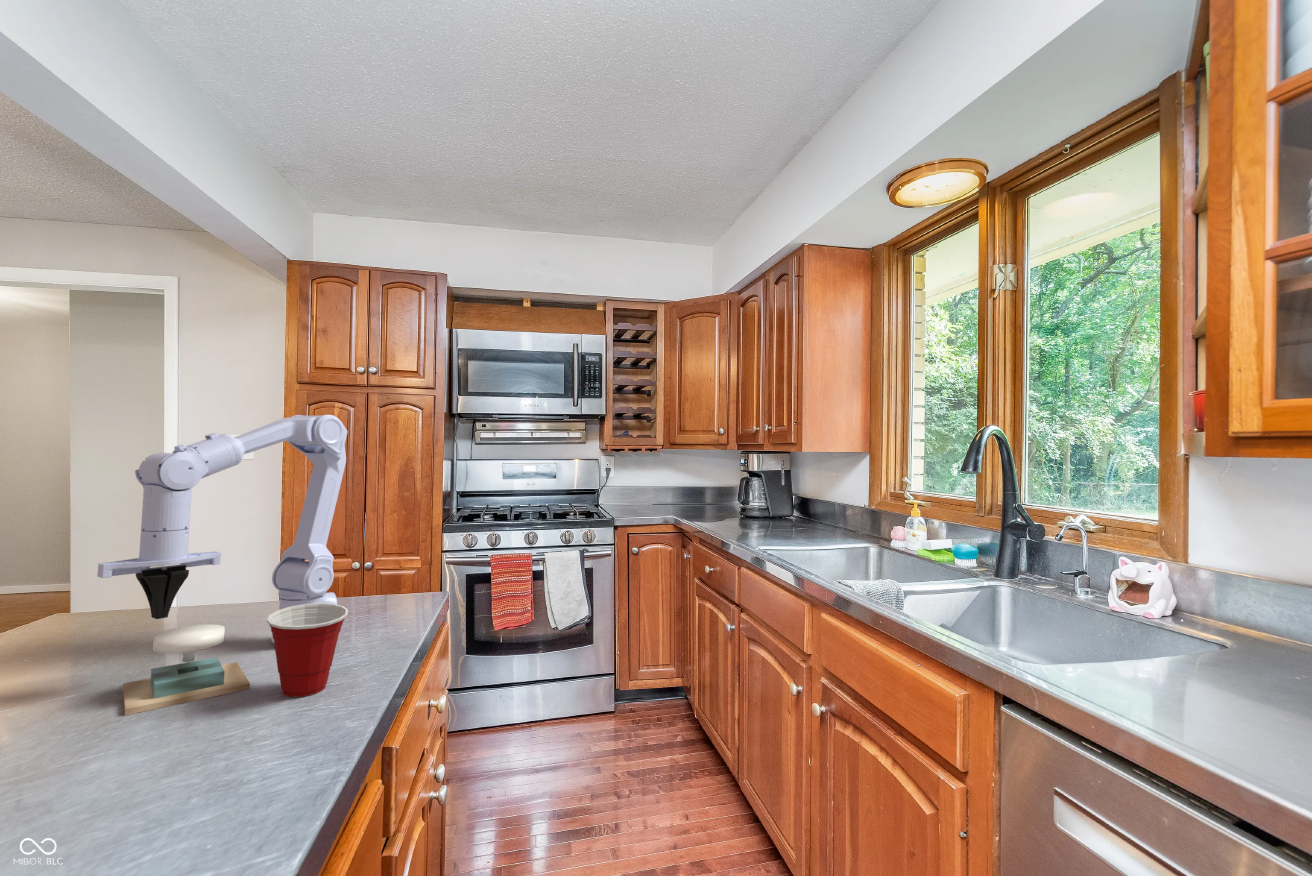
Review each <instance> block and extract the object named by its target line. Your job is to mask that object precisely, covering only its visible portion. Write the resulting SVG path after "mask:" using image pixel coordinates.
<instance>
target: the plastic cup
mask: <svg viewBox="0 0 1312 876" xmlns="http://www.w3.org/2000/svg"><path fill="white" fill-rule="evenodd" d="M348 614H349V609H348V608H347V607H345V606H343V605H340V604H337V605H335V604H324V603H316V604H303V605H297V606H291V607H287V608H284V609H280V610H279V609H277V610H275V611H273V612H272V613H270V614H268V616H267V618H266V622H267V624H268V625H269V627H270V631H271V633H272V638H273V639H274V643H273V645H274V651H275V658H276V665H277V673H278V675H279V682H280V690H281V694H282V695H283V696H284V697H287V698H288V697H289V698H301V697H307V696H311V695H316V694H318V693H320V692H322V691H324V690H325V689H326V685H327V684H328V679H329V674H330V670H331V667H332V665H333V660H334V657H335V656H334V655H335V651H336V647H337V643H338V639H339V635H340V633H341V628H342V626H343V625H344V624H343V623H344V621H345V619H346V618H347V617H348Z"/></svg>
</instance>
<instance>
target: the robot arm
mask: <svg viewBox="0 0 1312 876" xmlns="http://www.w3.org/2000/svg"><path fill="white" fill-rule="evenodd" d="M347 435H348V430H347V428H346V427H345V425H344V424H343V422H342V421H341V420H340V419H339V418H338V416H335V415H332V414H324V415H302V414H296V415H292V416H290V417H283V418H282V417H281V418H280V419H277V420H275V421H273V422H270V423H268V424H265V425H263V426H260V427H258V428H254V429H252V430H250V431H247V432H245V433H241V434H239V435H237V436H234V437H233V436H230V435H229V434H226V433H225V434H218V433H214V432H213V433H211V432H210V433H208V434H205V435H204V438H205V439H203V440H200V441H197V442H194V443H191V444H188V445H185V444H179V445H175V446H174V448H173V449H174V450H172V452H156V453H152V454H150V455H149V456H146V457H145V459H144V460H142V461H141V463H140V464H139V467H138V469H135V471H134V473H135V478H136V480H137V481H138V482H139V484H140V485H141V486H142V488H143V494H142V495H143V497H142V510H141V525H140V540H139V541H140V543H139V551H138V552H139V553H138V557H136V558H130V559H129V558H128V559H122V560H114V561H108V562H107V561H106V562H100V563H98V564H97V577H99V579H100V578H101V579H106V578H111V577H115V576H116V577H117V576H126V575H134V574H135V577H136V580H137V581H138V582H139V584H140V586H141V588H142V590H143V591H144V593H145V596H146V598H147V602H148V605H149V608H150V616H151V618H153V619H155V620H159V619H161V620H162V619H165V618H167V619H168V616H169V614H170V610H171V607H172V604H173V603H174V599H175V598H176V595H177V594H178V592H179V590H180V589H181V587H182V586H183V584H184V582H185V581H186V579H188V577H189V574H190V570H189V569H187V568H193V567H201V566H202V567H203V566H210V565H211V566H217V565H220V564H221V560H222V558H221V556H222V553H221V552H219V551H207V552H191V553H189V552H188V551H189V539H190V538H189V537H190V521H191V507H192V506H191V505H192V491H193V488H194V487H195V486H197V485H198V484H199V482H201V480H202V479H204V478H207V477H209V476H212V475H214V474H217V473H219V472H222V471H226V470H227V469H230V468H232V467H234V466H237V465H240V463H241V462H242V460H243V457H244V455H246V454H249V453H252V452H255V451H259V450H261V449H265V448H268V447H271V446H274V445H277V444H280V443H282V442H287V443H288V444H289V445H291V446H292V447H294V449H297V451H299V452H300V453H302V454H303V455H305V456H306V458H307V459H308V460H309V461H310V463H312V466H313V467H312V470H311V475H310V478H309V482H308V487H307V491H306V493H305V499H304V502H303V505H302V511H301V514H300V516H299V517H300V518H299V523H298V527H297V530H296V534H295V538H294V542H293V543H292V545H290V546H289V547H288V548H286V549H285V550H284V551H283V552H282V555H281V557H280V560H279V563H278V564H277V565H276V566H275V568H274V569H273V572H272V575H271V581H272V585H273V587H274V588H275V589H276V590H277V591H278V593H277V595H278V596H279V606H278V607H279V609H278V610H280V609H284V608H287V607H291V606H297V605H303V604H316V603H324V604H335V605H338V600H337V596H336V594H335V592H333V591H332V592H331V591H330V592H328V590H329V589H330V588H331V586H332V584H333V581H334V578H335V573H334V569H333V567H334V566H333V565H334V560H335V557H334V555H333V554H332V553H331V551H330V550H329V549H328V547H327V544H328V539H329V535H330V531H331V527H332V522H333V520H334V519H333V518H334V514H335V509H336V506H337V502H338V497H339V493H340V490H341V484H342V480H343V477H344V473H345V468H346V464H347V455H346V454H347V453H346V446H345V445H346V441H347V437H348V436H347ZM270 641H271V642H272V643H273V644H274V639H273V637H272V638H271V639H270Z"/></svg>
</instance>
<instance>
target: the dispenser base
mask: <svg viewBox="0 0 1312 876" xmlns="http://www.w3.org/2000/svg"><path fill="white" fill-rule="evenodd" d="M250 689H251V682H250V681H249V679H248V678H247V676H246V675H245V673H244V672H243V669H242V668H241V667H240V665H239V664H238V662H231V663H225V664H221V662H220V660H219V658H218V657H212V658H205V659H200V660H194V661H191V662H182V663H177V664H172V665H166V666H160V667H154V668H151V669H150V678H149V677H148V678H143V679H139V680H133V681H129V682H127V681H126V682H123V683H122V697H123V708H124V716H128V715H134V714H137V713H141V712H147V711H153V710H156V709H157V710H158V709H161V708H166V707H169V706H174V705H179V704H180V705H181V704H184V703H189V702H193V701H194V702H195V701H199V700H205V699H209V698H212V697H216V696H217V697H218V696H222V695H227V694H230V693H236V692H240V691H245V690H250Z"/></svg>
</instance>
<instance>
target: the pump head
mask: <svg viewBox="0 0 1312 876" xmlns="http://www.w3.org/2000/svg"><path fill="white" fill-rule="evenodd" d="M225 629H226V627H225V626H223V625H221V624H210V623H209V624H208V623H207V624H194V625H193V624H192V625H186V626H180V627H175V628H170V629H167V630H164V631H161V632H158V633H156V634H155V635H154V636H153V645H152V652H153V651H154V653H158V654H181V653H182V663H187V662H193V661H195V658H196V657H195V656H196V655H195V654H196V652H197V651H200V650H201V651H202V650H204V649H205V650H206V649H208V648H212V647H215V646H218V645H221V644H222V643H223V642H224V640H225V633H226V632H225V631H226V630H225Z"/></svg>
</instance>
